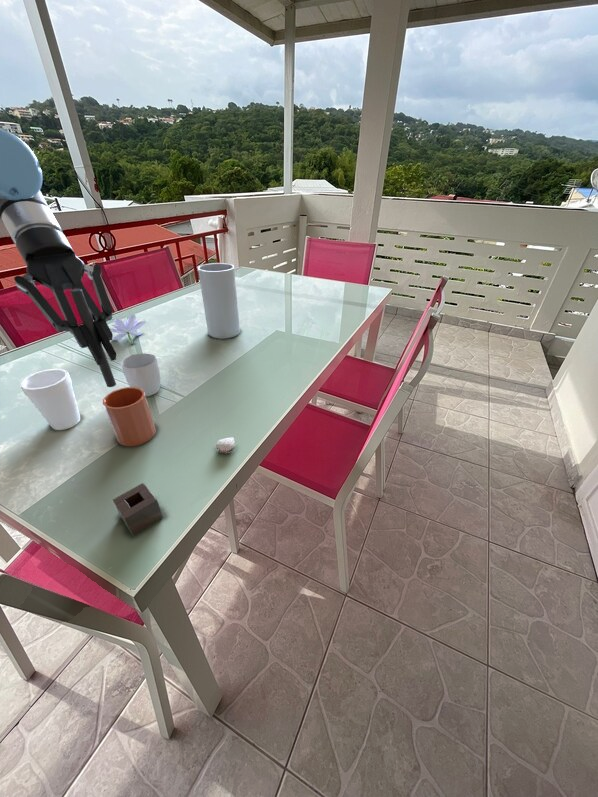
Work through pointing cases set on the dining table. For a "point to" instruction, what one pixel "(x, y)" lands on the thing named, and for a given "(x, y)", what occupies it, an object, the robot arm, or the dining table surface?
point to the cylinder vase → (220, 299)
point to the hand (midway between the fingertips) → (107, 359)
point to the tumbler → (129, 416)
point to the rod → (93, 334)
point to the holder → (138, 508)
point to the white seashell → (225, 445)
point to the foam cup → (53, 397)
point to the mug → (142, 372)
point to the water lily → (126, 327)
